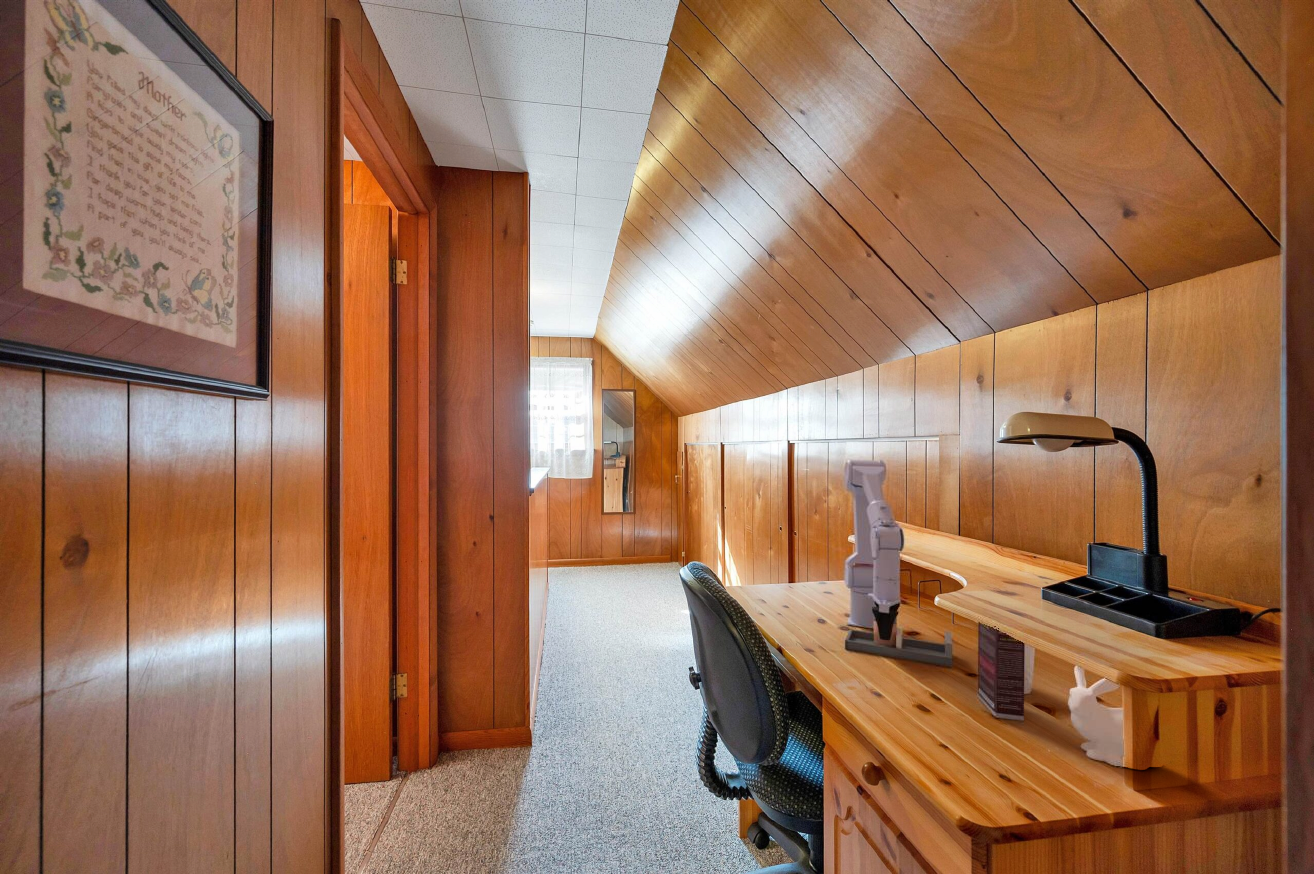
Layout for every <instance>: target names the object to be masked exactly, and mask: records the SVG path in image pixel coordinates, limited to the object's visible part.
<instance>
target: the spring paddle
mask: <svg viewBox="0 0 1314 874" xmlns="http://www.w3.org/2000/svg"><path fill="white" fill-rule="evenodd" d="M902 637H903V626H897V634H896V648H899V649H902Z"/></svg>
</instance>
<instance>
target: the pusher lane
mask: <svg viewBox="0 0 1314 874" xmlns="http://www.w3.org/2000/svg"><path fill="white" fill-rule="evenodd" d="M844 649H845V650H848V651H855V652H859V653H860V652H861V653H867V654H871V653H872V655H878V656H883V657H890V658H895V659H900V660H906V661H911V662H917V661H918V662H919V663H924V664H930V665H936V666H940V667H941V666H942V667H947V668H953V639H952V632H951V631H948V630H944V643H940V642H935V641H934V642H933V641H928V640H927V641H926V640H920V639H915V638H909V637H903V636H902V649H899V648H893V647H887V646H881V645H875V644H874V632H871V631H864V630H859V629H858V630H857V629H852V628H851V629H849V631H848V633H847V635H846V637H845V640H844Z"/></svg>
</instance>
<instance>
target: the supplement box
mask: <svg viewBox="0 0 1314 874" xmlns="http://www.w3.org/2000/svg"><path fill="white" fill-rule="evenodd" d="M977 626H978V627H977V629H978V633H977V635H978V636H977V637H978V641H977V646H978V647H977V648H978V649H977V652H978V653H977V654H978V655H977V656H978V657H977V698H978V699H979V700H980V701H981V702H982V703H983V704H984V707H986V708H987V709H988V711H989V712H990V713H991V714H992V715H993V716H994V717H995V718H998V719H1003V720H1009V721H1010V720H1011V721H1022V722H1024V721H1025V694H1024V660H1025V643H1023V642H1021V641H1019V640H1016V639H1014V638H1013V637H1011V636H1009V635H1007V634H1006V633H1003V632H1001V631H999V630H997V629H994V628H993V627H990V626H987V625H985V624H982V623H980V622H978V625H977ZM994 627H996V626H994ZM998 629H999V628H998Z"/></svg>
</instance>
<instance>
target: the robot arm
mask: <svg viewBox="0 0 1314 874" xmlns="http://www.w3.org/2000/svg"><path fill="white" fill-rule="evenodd" d="M886 478H887V465H886V463H885V462H884V460H882V459H879V460H877V459H876V460H872V459H849V458H848V459H847V460H846V462H845V464H844V486H845V490H846V491H848V492H850V493H851V496H852V497H851V498H852V503H853V504H852V505H853V507H852V508H853V510H852V511H853V529H854V532H853V533H854V553H853V554H851V555H849V556H848V557H846V560H845V561H844V571H843V579H844V584H845V586H846V587H847V588H848V589H850V591H849V592H850V593H849V594H850V595H849V596H850V599H849V601H850V607H849V609H850V610H849V617H848V620H847V621H846V625H848V626H853V627H854V626H855V627H860V628H866V629H873V630H874V616H875V619H876V622H877V626H878V632H879V637H880V639H882V640H888V641H890V638H891V634H892V628H893V624H894V621H895V619H896V617H898V615H899V613H900V612H899V611H898V610H899V608H900V606H901V597H900V596H901V594H900V593H901V592H900V589H901V588H900V587H901V586H900V585H901V584H900V583H901V581H900V579H901V578H900V577H901V552H902V551H903V550H904V547H905V535H904V534H905V533H904V529H903V528H902V526H900V525H899V523H897V522H896V520H895V517H894V513H893V510H892V506H891V504H889V503H888V502H886V501H885V497H884V496H885V495H884V490H883V485H884V483H885V480H886ZM858 564H861V565H858ZM864 564H865V565H864Z"/></svg>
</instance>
